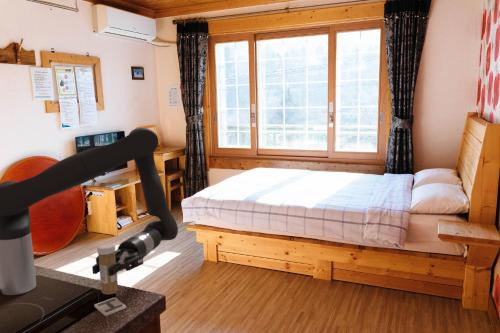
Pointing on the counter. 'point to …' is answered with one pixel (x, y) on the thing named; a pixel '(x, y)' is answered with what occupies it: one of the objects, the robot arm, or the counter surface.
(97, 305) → the letter card
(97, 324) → the counter surface
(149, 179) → the robot arm
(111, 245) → the sprinkles bottle
